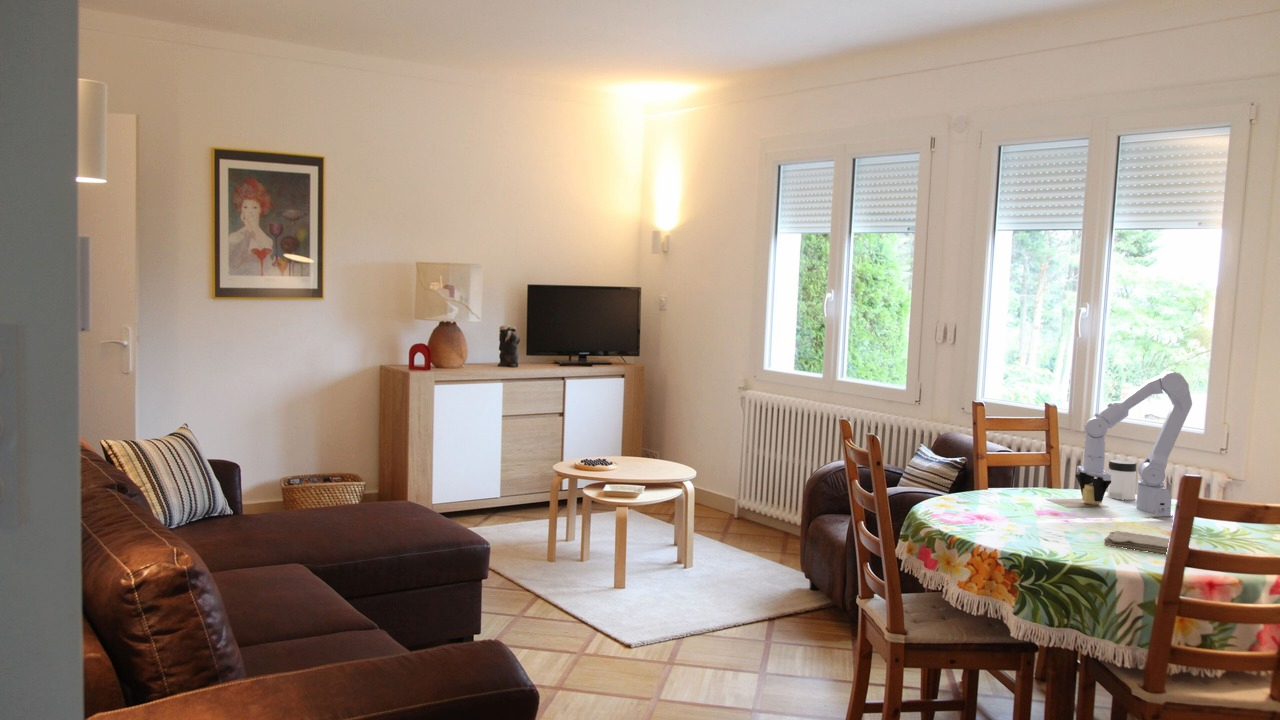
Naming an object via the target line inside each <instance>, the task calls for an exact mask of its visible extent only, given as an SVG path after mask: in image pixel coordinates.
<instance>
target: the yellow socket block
mask: <svg viewBox="0 0 1280 720" xmlns="http://www.w3.org/2000/svg"><path fill="white" fill-rule="evenodd" d="M1081 497H1082V498H1081V499H1082V500H1083V501H1085V502H1086V503H1099V504H1102V505H1103V500H1102V501H1100V502H1096V501H1095V499H1094V487H1093V484H1092V483H1089V484H1086V485H1085V488H1083V494H1082V493H1081Z"/></svg>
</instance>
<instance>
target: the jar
mask: <svg viewBox="0 0 1280 720" xmlns="http://www.w3.org/2000/svg"><path fill="white" fill-rule="evenodd" d="M1107 473H1109V474H1111V483H1110V485H1109V486H1108V488H1107V489H1106V491H1107V493H1108V494H1107V493H1106V495H1107V497H1108V498H1109V497H1111V498H1110V499H1113V498H1117V499H1116V500H1119V499H1125V500H1124V501H1135V500H1136V489H1137V488H1136V487H1137V462H1135V461H1131V460H1125V459H1110V460H1109V461H1108V470H1107Z"/></svg>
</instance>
